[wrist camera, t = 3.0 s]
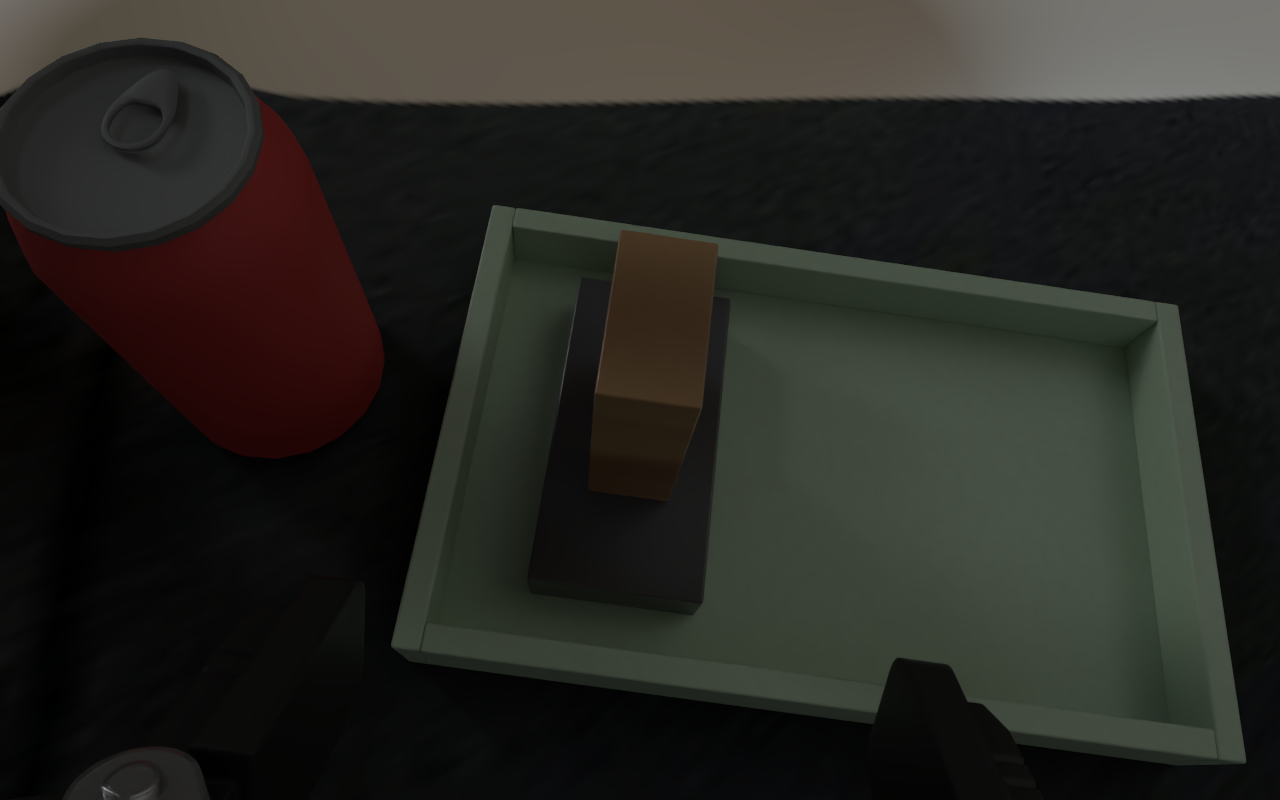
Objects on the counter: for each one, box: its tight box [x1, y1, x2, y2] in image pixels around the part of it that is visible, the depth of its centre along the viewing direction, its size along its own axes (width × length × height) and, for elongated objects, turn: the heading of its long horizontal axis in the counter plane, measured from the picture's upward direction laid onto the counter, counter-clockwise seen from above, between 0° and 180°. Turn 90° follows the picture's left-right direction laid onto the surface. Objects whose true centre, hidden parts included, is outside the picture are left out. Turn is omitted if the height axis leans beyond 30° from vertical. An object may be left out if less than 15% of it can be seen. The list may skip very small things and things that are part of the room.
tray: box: [391, 205, 1246, 765], centre depth 28 cm, size 24×15×3 cm, turn 83°
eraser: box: [527, 230, 731, 615], centre depth 24 cm, size 10×5×9 cm, turn 173°
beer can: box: [0, 38, 385, 459], centre depth 24 cm, size 7×7×12 cm
